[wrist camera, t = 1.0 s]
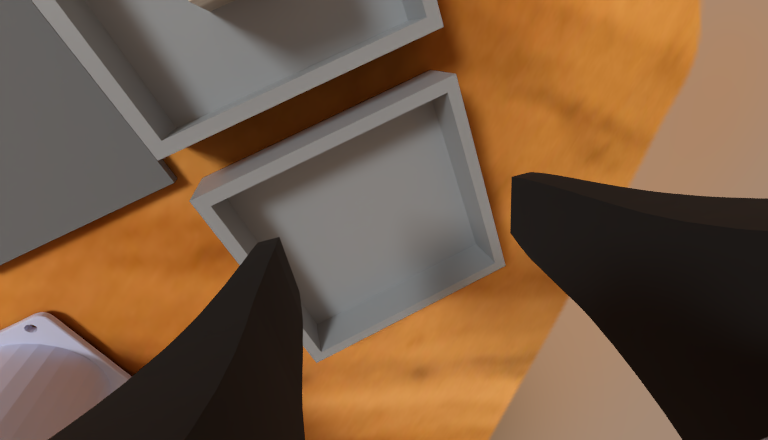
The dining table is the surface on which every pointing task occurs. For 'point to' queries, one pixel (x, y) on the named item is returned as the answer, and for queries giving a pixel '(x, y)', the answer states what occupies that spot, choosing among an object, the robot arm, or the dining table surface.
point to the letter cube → (210, 3)
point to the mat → (59, 139)
